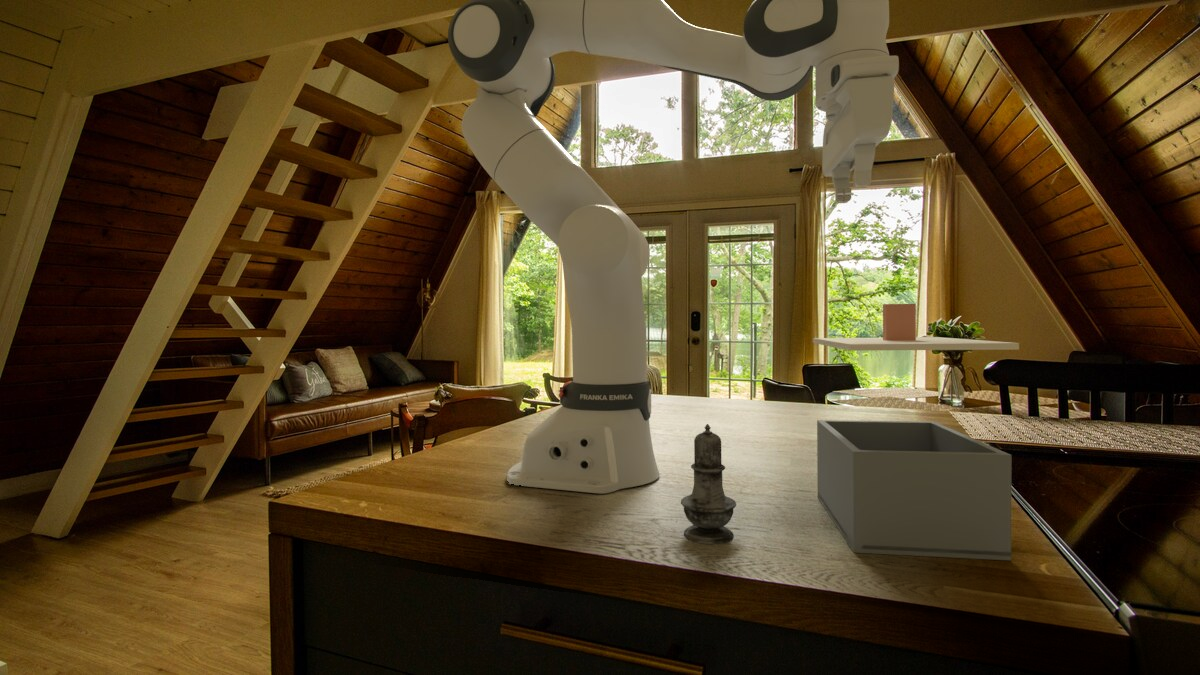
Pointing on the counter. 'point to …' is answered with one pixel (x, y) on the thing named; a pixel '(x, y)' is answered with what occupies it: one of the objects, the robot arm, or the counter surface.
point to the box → (914, 489)
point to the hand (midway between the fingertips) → (852, 195)
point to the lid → (909, 336)
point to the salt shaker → (708, 494)
